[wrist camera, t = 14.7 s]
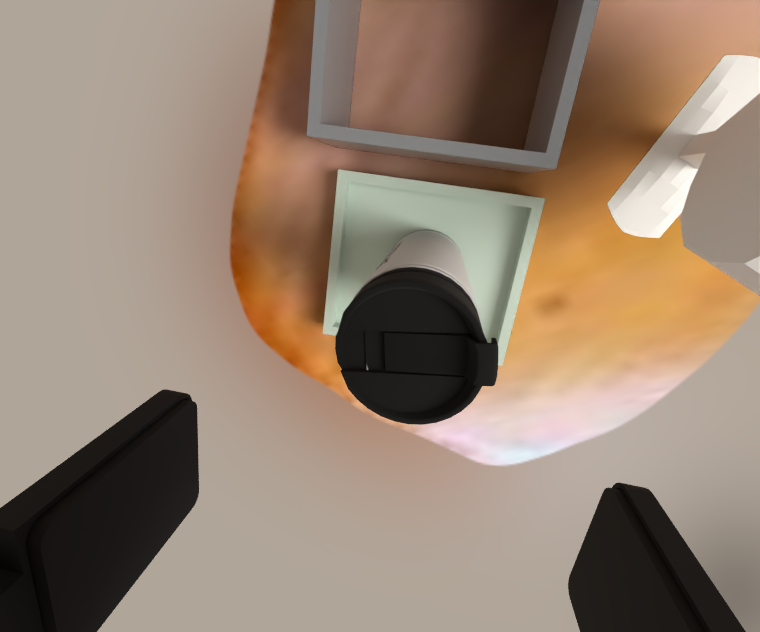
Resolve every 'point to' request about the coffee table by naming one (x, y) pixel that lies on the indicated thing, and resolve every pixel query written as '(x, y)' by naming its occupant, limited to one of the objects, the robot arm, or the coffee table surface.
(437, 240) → the travel mug
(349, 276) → the tray
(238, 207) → the coffee table surface
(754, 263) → the heart sculpture
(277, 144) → the coffee table surface
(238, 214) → the coffee table surface
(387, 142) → the deep bin
